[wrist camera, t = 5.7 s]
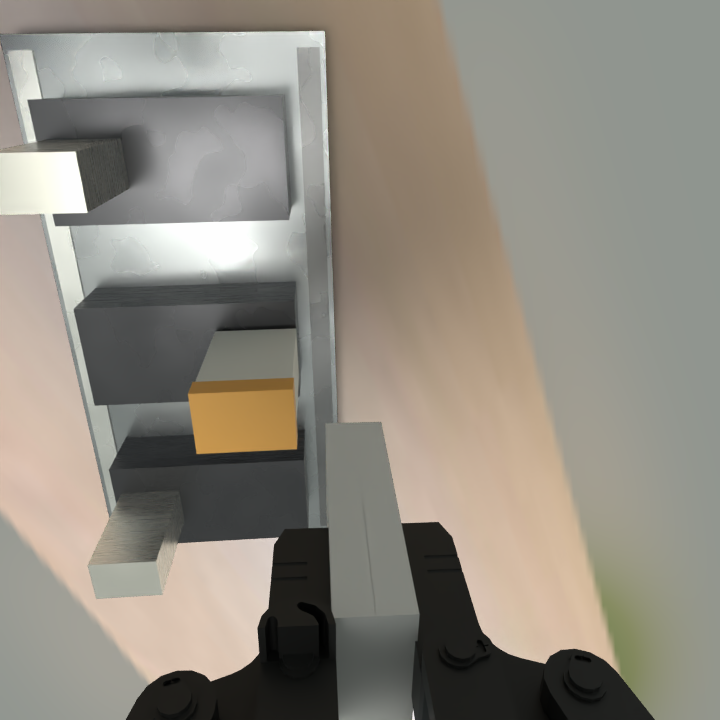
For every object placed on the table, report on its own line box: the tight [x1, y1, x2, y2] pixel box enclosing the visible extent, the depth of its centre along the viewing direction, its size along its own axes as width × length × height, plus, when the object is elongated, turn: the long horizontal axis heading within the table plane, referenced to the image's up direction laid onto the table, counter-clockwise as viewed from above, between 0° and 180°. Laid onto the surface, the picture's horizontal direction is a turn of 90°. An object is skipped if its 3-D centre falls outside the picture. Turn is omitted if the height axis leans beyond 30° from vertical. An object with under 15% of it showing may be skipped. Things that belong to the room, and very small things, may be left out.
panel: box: [0, 31, 337, 599], centre depth 23 cm, size 22×11×8 cm, turn 1°
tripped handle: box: [188, 328, 299, 454], centre depth 21 cm, size 2×3×5 cm
